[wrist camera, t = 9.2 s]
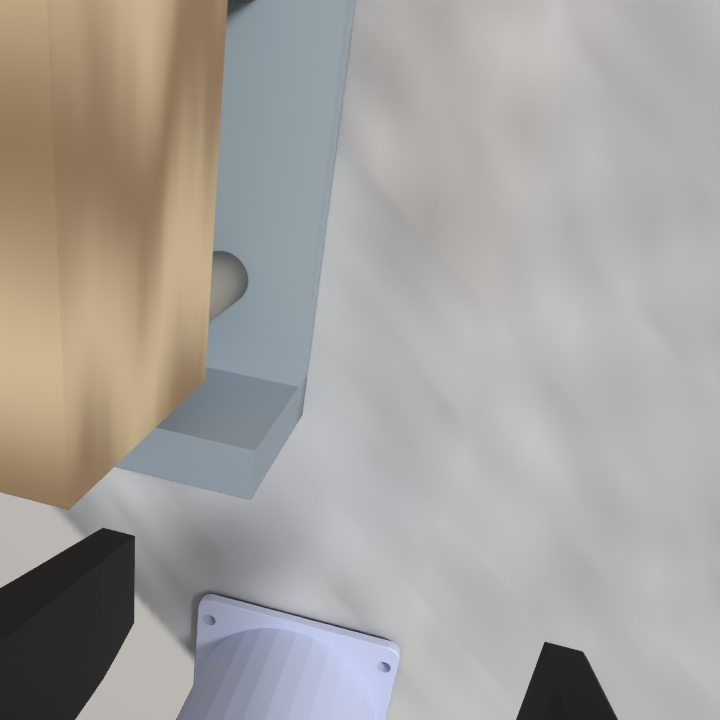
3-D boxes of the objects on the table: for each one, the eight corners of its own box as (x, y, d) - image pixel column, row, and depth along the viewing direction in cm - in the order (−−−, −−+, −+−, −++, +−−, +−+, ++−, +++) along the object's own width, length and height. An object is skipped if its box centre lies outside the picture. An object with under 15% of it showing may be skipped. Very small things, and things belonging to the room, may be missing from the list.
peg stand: (302, 415, 20) (250, 500, 16) (82, 365, 21) (-27, 432, 17) (386, -239, 14) (339, -416, 9) (63, -271, 15) (-124, -447, 10)
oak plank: (49, -224, 12) (-306, -503, 7) (239, -202, 12) (27, -483, 6) (69, 350, 17) (-126, 459, 12) (205, 380, 17) (68, 509, 11)
